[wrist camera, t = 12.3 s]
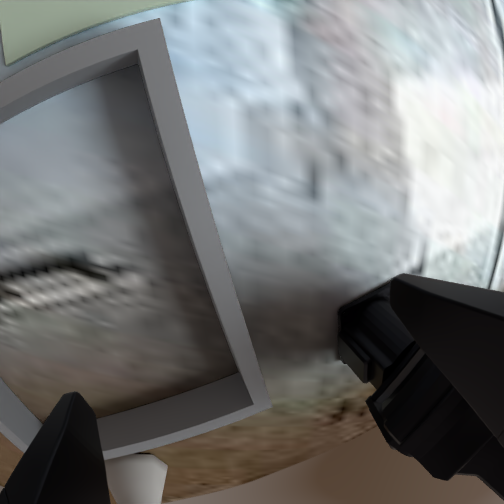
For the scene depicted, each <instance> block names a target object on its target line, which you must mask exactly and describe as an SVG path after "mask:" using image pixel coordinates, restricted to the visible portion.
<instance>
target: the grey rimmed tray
mask: <svg viewBox="0 0 504 504" xmlns="http://www.w3.org/2000/svg"><path fill="white" fill-rule="evenodd" d="M136 64H139V68H140V72H141V76H142V80H143V84H144V87H145V91H146V95H147V99H148V102H149V106H150V110H151V113H152V117H153V121H154V124H155V128H156V131H157V135H158V138H159V141H160V145H161V148H162V152H163V155H164V158H165V162H166V165H167V168H168V172H169V175H170V178H171V181H172V185H173V188H174V191H175V194H176V197H177V201H178V204H179V207H180V210H181V213H182V216H183V219H184V222H185V225H186V228H187V231H188V234H189V237H190V240H191V243H192V246H193V249H194V252H195V255H196V258H197V261H198V264H199V266H200V269H201V272H202V275H203V278H204V281H205V283H206V286H207V289H208V292H209V295H210V297H211V300H212V303H213V306H214V308H215V311H216V314H217V316H218V319H219V322H220V324H221V327H222V330H223V332H224V335H225V338H226V340H227V343H228V345H229V348H230V351H231V353H232V356H233V358H234V361H235V363H236V366H237V368H238V371H239V372H238V373H236V374H233V375H231V376H228V377H226V378H223V379H220V380H218V381H215V382H212V383H210V384H207V385H204V386H201V387H198V388H196V389H193V390H190V391H187V392H184V393H181V394H178V395H175V396H172V397H169V398H166V399H163V400H160V401H157V402H154V403H151V404H147V405H144V406H141V407H137V408H134V409H131V410H127V411H124V412H120V413H117V414H113V415H109V416H106V417H102V418H98V419H96V420H97V425H98V431H99V437H100V442H101V447H102V452H103V456H104V460H107V459H111V458H116V457H120V456H125V455H129V454H133V453H137V452H141V451H145V450H149V449H153V448H156V447H160V446H163V445H167V444H170V443H174V442H177V441H180V440H184V439H187V438H190V437H193V436H196V435H199V434H202V433H205V432H208V431H211V430H214V429H217V428H220V427H222V426H225V425H228V424H231V423H233V422H236V421H239V420H241V419H244V418H246V417H249V416H251V415H254V414H256V413H259V412H261V411H264V410H266V409H268V408H271V407H273V406H272V403H271V400H270V397H269V394H268V391H267V388H266V385H265V382H264V379H263V376H262V373H261V370H260V367H259V364H258V361H257V358H256V355H255V351H254V348H253V345H252V342H251V339H250V336H249V333H248V330H247V326H246V323H245V320H244V317H243V314H242V310H241V307H240V304H239V301H238V298H237V294H236V291H235V288H234V285H233V281H232V278H231V275H230V272H229V268H228V265H227V262H226V258H225V255H224V252H223V248H222V245H221V242H220V238H219V235H218V231H217V228H216V225H215V221H214V218H213V214H212V211H211V208H210V204H209V201H208V197H207V194H206V190H205V187H204V183H203V180H202V176H201V173H200V169H199V165H198V162H197V158H196V155H195V151H194V147H193V144H192V140H191V137H190V133H189V129H188V126H187V122H186V118H185V114H184V111H183V107H182V103H181V99H180V96H179V92H178V88H177V84H176V80H175V76H174V73H173V69H172V65H171V61H170V57H169V53H168V49H167V45H166V41H165V37H164V33H163V29H162V25H161V21H160V18H158V19H154V20H150V21H146V22H142V23H139V24H135V25H132V26H129V27H125V28H122V29H119V30H116V31H113V32H110V33H107V34H104V35H101V36H98V37H96V38H93V39H90V40H88V41H85V42H82V43H80V44H77V45H75V46H72V47H70V48H68V49H65V50H63V51H61V52H58V53H56V54H54V55H52V56H50V57H48V58H45V59H43V60H41V61H39V62H37V63H35V64H33V65H31V66H29V67H27V68H25V69H23V70H21V71H20V72H18V73H16V74H14V75H12V76H11V77H9V78H7V79H5V80H4V81H2V82H0V124H1V123H3V122H5V121H7V120H8V119H10V118H12V117H14V116H16V115H17V114H19V113H21V112H23V111H25V110H27V109H29V108H31V107H33V106H35V105H36V104H38V103H41V102H43V101H45V100H47V99H49V98H51V97H53V96H55V95H57V94H60V93H62V92H64V91H66V90H69V89H71V88H73V87H76V86H78V85H80V84H83V83H85V82H88V81H90V80H93V79H96V78H98V77H101V76H103V75H106V74H109V73H112V72H115V71H117V70H120V69H123V68H126V67H129V66H132V65H136ZM42 425H43V424H42V423H41V422H40V421H39V420H38V419H37V418H36V417H35V416H34V415H33V414H32V413H31V412H30V411H29V410H28V408H27V407H26V406H25V405H24V404H23V403H22V402H21V401H20V400H19V399H18V398H17V396H16V395H15V394H14V393H13V392H12V391H11V390H10V388H9V387H8V386H7V385H6V384H5V383H4V381H3V380H2V379H1V378H0V432H1V433H2V434H3V435H4V436H5V437H6V438H8V439H9V440H10V441H11V442H12V443H13V444H14V445H15V446H17V447H18V448H19V449H20V450H21V451H22V452H24V453H25V452H26V450H27V448H28V447H29V445H30V444H31V442H32V441H33V439H34V437H35V436H36V434H37V433H38V431H39V430H40V428H41V427H42Z"/></svg>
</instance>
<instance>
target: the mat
mask: <svg viewBox="0 0 504 504" xmlns="http://www.w3.org/2000/svg"><path fill="white" fill-rule="evenodd" d="M188 1H193V0H0V26H1V35H2V43H3V50H4V57H5V63H6V66H10V65H12V64H14V63H15V62H17V61H19V60H21V59H23V58H25V57H27V56H29V55H31V54H33V53H35V52H37V51H39V50H41V49H43V48H45V47H47V46H49V45H51V44H54V43H56V42H58V41H60V40H63V39H65V38H67V37H70V36H72V35H75V34H77V33H80V32H82V31H85V30H88V29H90V28H93V27H96V26H99V25H101V24H104V23H107V22H110V21H113V20H116V19H120V18H123V17H126V16H129V15H133V14H136V13H140V12H144V11H147V10H151V9H155V8H159V7H164V6H168V5H173V4H177V3H182V2H188Z"/></svg>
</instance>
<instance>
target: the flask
mask: <svg viewBox="0 0 504 504" xmlns="http://www.w3.org/2000/svg"><path fill="white" fill-rule="evenodd" d="M104 461H105V467H106V475H107V482H108V487H109V489H110V491H111V493H112V495H113V497H114V499H115V501H116V503H117V504H161V499H162V493H163V488H164V483H165V478H166V473H167V467H168V466H167V465H166V464H165V463H163V462H162V461H161V460H159V459H158V458H157V457H155V456H154V455H149V454H129V455H125V456H120V457H116V458H111V459H107V460H104Z"/></svg>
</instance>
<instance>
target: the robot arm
mask: <svg viewBox="0 0 504 504" xmlns="http://www.w3.org/2000/svg"><path fill="white" fill-rule="evenodd" d="M338 325H339V333H338V347H339V355H340V356H341V361H342V362H343V363H344V364H347V365H348V366H349V367H350V368H351V369H352V370H353V372H354V373H355V374H356V375H357V376H358V377H359V379H360V380H361V381H362V382H363V383H368V382H370V383H371V384H372V385H373V386H374V387H375V388H376V391H375V392H374V394H373V395H372V396H369V397H368V399H367V400H366V403H367V405H368V407H369V410H370V412H371V414H372V416H373V418H374V420H375V421H376V423H377V425H378V427H379V429H380V430H381V432H382V434H383V436H384V438H385V440H386V442H387V443H388V444H389V446H390V447H391V448H392V449H393V450H398V451H399V452H400V453H402V454H404V455H406V456H409V457H414V458H415V459H416V460H417V461H419V462H420V463H421V464H422V465H423V467H424V468H425V469H426V470H427V471H428V472H429V473H430V474H431V475H432V476H433V477H434V478H438V479H441V480H446V481H448V480H450V479H451V478H452V477H453V476H454V475H455V474H458V475H471V476H477V477H478V478H479V479H480V480H482V481H483V482H484V483H485V484H486V485H487V486H488V487H489V488H490V489H492V490H493V491H494V492H495V493H496V494H497V495H498V496H499V497H500V498H501V499H503V500H504V292H500V291H495V290H490V289H484V288H479V287H474V286H469V285H464V284H458V283H453V282H448V281H442V280H437V279H432V278H427V277H421V276H416V275H411V274H405V273H402V274H399V275H397V276H395V277H393V278H392V279H391V281H390V283H389V284H388V285H386V286H384V287H382V288H380V289H378V290H376V291H374V292H372V293H370V294H368V295H366V296H364V297H362V298H360V299H358V300H356V301H354V302H352V303H350V304H348V305H346V306H343V307H342V308H340V310H339V311H338ZM0 504H111V503H110V497H109V490H108V482H107V475H106V467H105V461H104V456H103V452H102V447H101V442H100V437H99V431H98V425H97V420H96V415H95V413H94V411H93V409H92V408H91V407H90V406H89V405H88V403H87V402H86V401H85V400H84V398H83V397H82V396H81V395H80V393H78V392H75V391H74V392H70V393H66V394H64V395H63V396H62V397H61V399H60V400H59V402H58V403H57V404H56V406H55V407H54V409H53V410H52V412H51V413H50V415H49V416H48V418H47V419H46V421H45V422H44V424H43V425H42V427H41V428H40V430H39V431H38V433H37V434H36V436H35V437H34V439H33V441H32V442H31V444H30V445H29V447H28V448H27V450H26V452H25V453H24V455H23V456H22V458H21V460H20V461H19V463H18V464H17V466H16V468H15V469H14V471H13V473H12V474H11V476H10V478H9V479H8V481H7V483H6V484H5V488H3V490H2V491H1V493H0Z"/></svg>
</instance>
